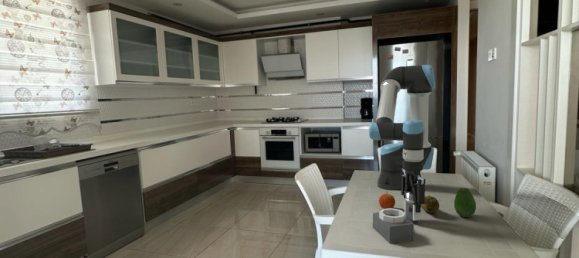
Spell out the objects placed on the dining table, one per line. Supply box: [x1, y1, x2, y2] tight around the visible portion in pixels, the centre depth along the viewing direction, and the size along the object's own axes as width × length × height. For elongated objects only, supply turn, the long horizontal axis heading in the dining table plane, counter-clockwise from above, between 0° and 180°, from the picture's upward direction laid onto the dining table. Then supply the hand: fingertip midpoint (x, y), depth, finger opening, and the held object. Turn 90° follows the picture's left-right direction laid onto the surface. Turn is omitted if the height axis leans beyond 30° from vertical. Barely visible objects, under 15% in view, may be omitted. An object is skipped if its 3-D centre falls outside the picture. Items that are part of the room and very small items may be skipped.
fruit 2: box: [453, 187, 477, 218], centre depth 128 cm, size 8×8×12 cm
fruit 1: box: [378, 193, 396, 209], centre depth 140 cm, size 7×7×8 cm
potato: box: [421, 195, 440, 213], centre depth 135 cm, size 8×13×8 cm, turn 156°
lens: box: [404, 189, 420, 225], centre depth 125 cm, size 5×5×12 cm
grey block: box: [372, 208, 415, 244], centre depth 115 cm, size 13×9×8 cm
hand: (412, 216), depth 126 cm, fingers closed on lens, 5 cm apart
